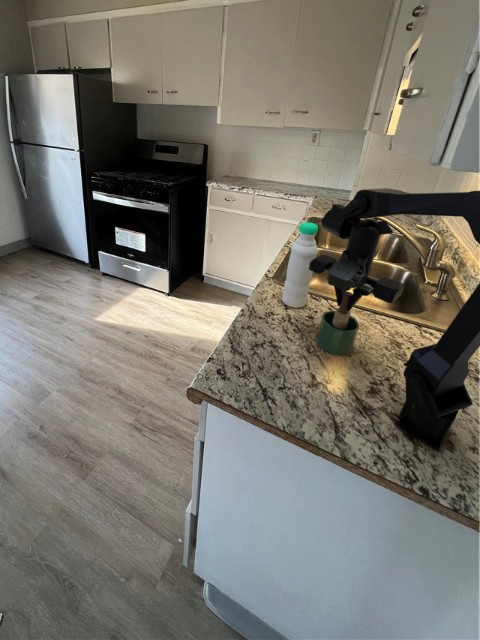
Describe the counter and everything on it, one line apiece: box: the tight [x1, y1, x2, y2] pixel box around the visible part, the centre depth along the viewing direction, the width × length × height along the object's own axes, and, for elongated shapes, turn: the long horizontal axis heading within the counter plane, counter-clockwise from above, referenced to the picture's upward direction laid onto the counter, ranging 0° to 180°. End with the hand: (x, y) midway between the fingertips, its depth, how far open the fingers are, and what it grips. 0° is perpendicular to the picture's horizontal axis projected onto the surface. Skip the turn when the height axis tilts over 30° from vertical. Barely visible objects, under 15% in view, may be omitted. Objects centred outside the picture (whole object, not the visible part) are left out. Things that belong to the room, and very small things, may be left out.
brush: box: [332, 291, 353, 329], centre depth 74 cm, size 3×3×9 cm
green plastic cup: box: [316, 310, 360, 356], centre depth 77 cm, size 8×8×7 cm
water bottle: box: [281, 221, 319, 309], centre depth 89 cm, size 7×7×25 cm
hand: (344, 307), depth 74 cm, fingers closed on brush, 2 cm apart
